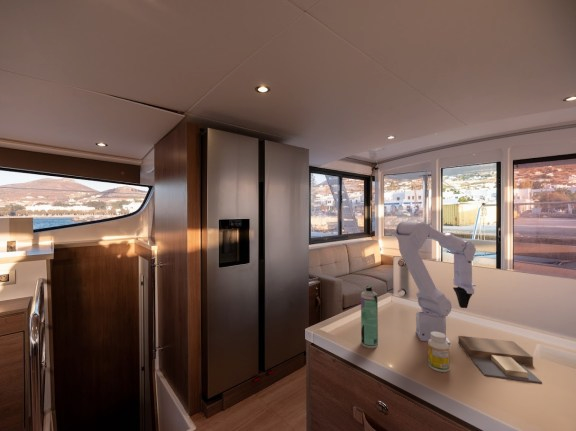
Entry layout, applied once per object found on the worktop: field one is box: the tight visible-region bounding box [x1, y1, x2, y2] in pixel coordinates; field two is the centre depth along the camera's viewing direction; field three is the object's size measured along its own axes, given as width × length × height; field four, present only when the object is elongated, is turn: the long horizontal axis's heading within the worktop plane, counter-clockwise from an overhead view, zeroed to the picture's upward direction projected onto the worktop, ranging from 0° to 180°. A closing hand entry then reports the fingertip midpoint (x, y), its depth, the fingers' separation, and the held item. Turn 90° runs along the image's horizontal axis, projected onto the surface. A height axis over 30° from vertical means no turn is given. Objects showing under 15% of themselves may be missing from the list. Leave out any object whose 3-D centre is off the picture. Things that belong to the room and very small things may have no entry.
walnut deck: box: [457, 335, 534, 366], centre depth 82 cm, size 16×10×2 cm, turn 74°
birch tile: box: [491, 355, 528, 378], centre depth 74 cm, size 5×8×2 cm, turn 165°
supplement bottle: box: [427, 332, 450, 373], centre depth 75 cm, size 5×5×10 cm
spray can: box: [360, 285, 379, 349], centre depth 89 cm, size 6×6×20 cm
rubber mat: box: [470, 357, 543, 384], centre depth 74 cm, size 13×9×1 cm
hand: (463, 307), depth 98 cm, fingers closed
